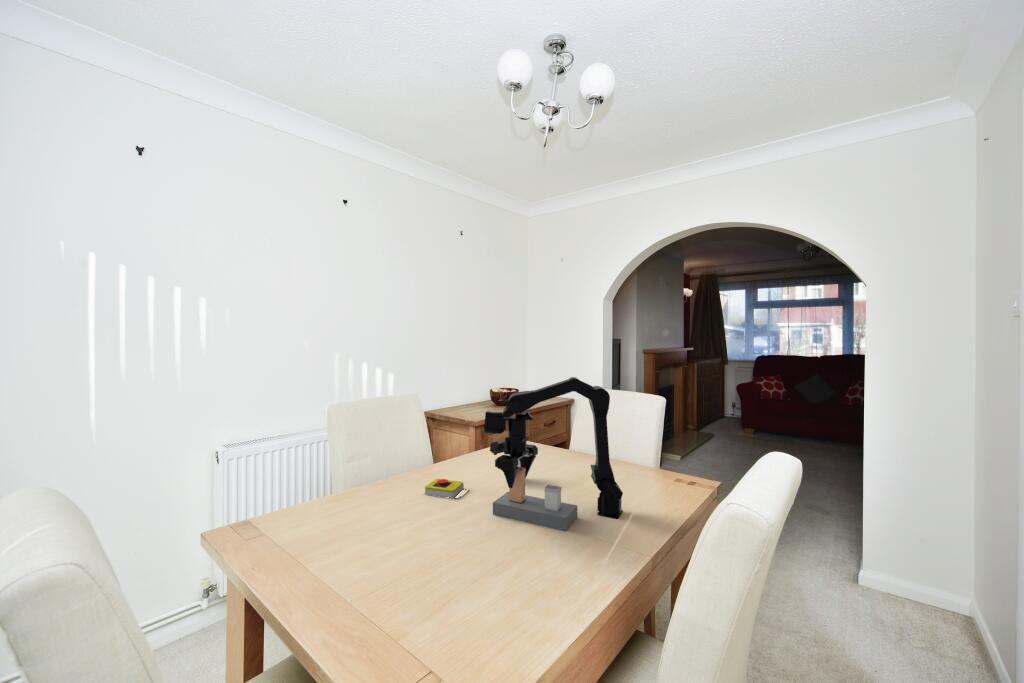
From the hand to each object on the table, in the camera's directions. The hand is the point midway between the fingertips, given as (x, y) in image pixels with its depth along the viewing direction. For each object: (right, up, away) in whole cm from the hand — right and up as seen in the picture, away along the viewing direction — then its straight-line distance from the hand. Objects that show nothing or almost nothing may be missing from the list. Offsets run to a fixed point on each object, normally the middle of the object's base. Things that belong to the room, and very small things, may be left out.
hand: (517, 483), depth 136 cm
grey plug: (+11, -10, -5) cm, 15 cm away
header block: (+5, -10, -2) cm, 11 cm away
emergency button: (-25, -10, +18) cm, 32 cm away
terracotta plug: (0, -5, 0) cm, 5 cm away
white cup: (-1, -9, +29) cm, 30 cm away
